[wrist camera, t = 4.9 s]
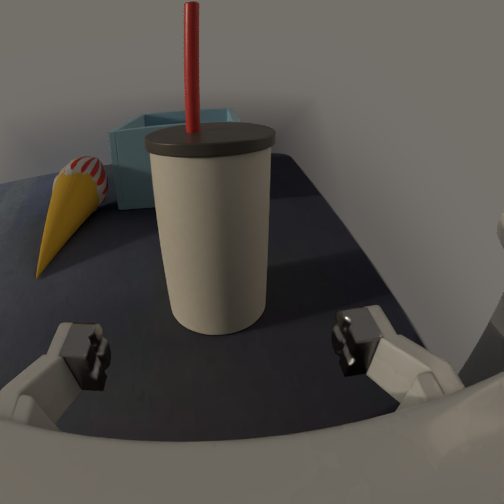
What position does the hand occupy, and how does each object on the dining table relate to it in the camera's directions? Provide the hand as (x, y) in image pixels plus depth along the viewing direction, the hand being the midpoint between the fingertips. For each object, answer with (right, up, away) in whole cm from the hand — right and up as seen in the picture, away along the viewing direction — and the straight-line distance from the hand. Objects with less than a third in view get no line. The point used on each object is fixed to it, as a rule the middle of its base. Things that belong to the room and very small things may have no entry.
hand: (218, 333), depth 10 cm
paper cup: (-1, 0, +10) cm, 10 cm away
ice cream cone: (-18, +5, +19) cm, 27 cm away
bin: (-8, +12, +30) cm, 33 cm away
